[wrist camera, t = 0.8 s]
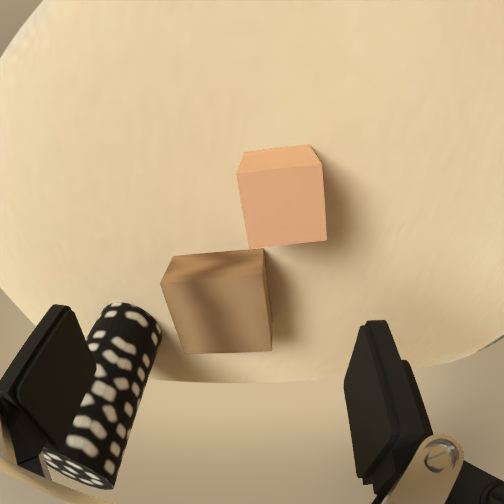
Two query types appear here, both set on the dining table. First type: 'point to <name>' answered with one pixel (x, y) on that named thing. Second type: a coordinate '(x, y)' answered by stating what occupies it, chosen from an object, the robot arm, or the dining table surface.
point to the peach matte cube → (282, 196)
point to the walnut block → (220, 301)
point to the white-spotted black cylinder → (109, 396)
